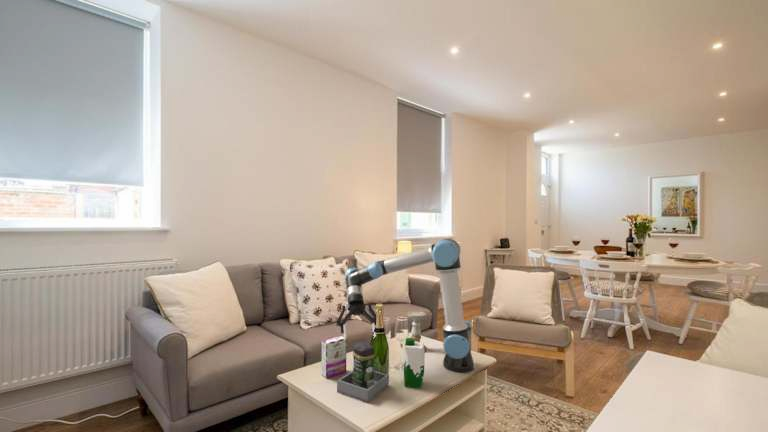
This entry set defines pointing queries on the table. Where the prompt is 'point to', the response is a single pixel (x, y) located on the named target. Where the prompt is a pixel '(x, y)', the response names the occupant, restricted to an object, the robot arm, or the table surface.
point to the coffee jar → (363, 365)
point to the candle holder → (416, 325)
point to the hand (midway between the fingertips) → (360, 338)
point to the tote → (361, 393)
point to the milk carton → (413, 363)
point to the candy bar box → (333, 356)
